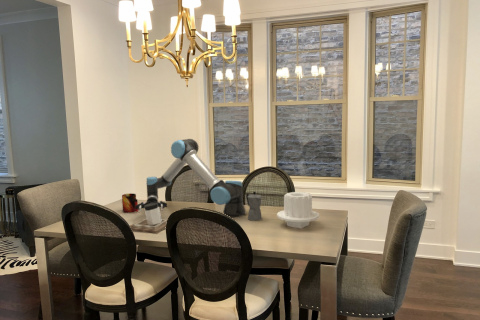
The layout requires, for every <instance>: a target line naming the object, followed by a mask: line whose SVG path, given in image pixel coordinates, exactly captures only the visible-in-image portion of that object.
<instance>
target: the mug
mask: <svg viewBox="0 0 480 320" xmlns="http://www.w3.org/2000/svg"><path fill="white" fill-rule="evenodd" d="M121 203H122V204H121V205H122V213H124V214H131V213H132V214H133V213H135V212H136V213H137V212H139V210H138V209H136V205H138V204H139V202H138V199H137V194H136V193H131V192H130V193H124V194H122V195H121Z"/></svg>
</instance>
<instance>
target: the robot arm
mask: <svg viewBox="0 0 480 320" xmlns="http://www.w3.org/2000/svg"><path fill="white" fill-rule="evenodd" d="M199 147H200V146H199V144H198V142H197V141H196V140H195V139H192V138H186V139H178V140H175V141H173V143H172V144H171V146H170V152H171V155H172V156H173V157H174V158H176V159H175V160H174V161H173V162H172V164H171V165H170V166H169V167H168V168H166V170H165V172H164V173H163V174H162V175H161V177H158V178H157V176H148V177H146V184H145V185H146V197H147V199H146V202H144V201H143V202H139V203H138V205H136V209H138V212H140V213H141V212H142V209H145V208H144V206H145V205H147V204H150V203H158V207H159V208H160V209H161V210H160V211H163V210H164V209H165V208H168V203H167V202H165V201H162V200H160V201H159V189H163V188H166V187H169V186H171V185H172V181H173V180H174V178H175V177H176V176H177V175H178V174H179V173H180V171H181V170H182V169H183V168H184V167H185V166H186V164H187V165H188V167H189V168H190V169H191V170H192V172H194V174H196V175H197V176H198V178H199V179H200V180H201V181H202V182H203V183H204V185H206V186H207V188H208V192H209V194H210V195H209V196H210V199H211V201H212V202H213V203H214V204H216V205H218V206H222V205H224V207H223V212H222V214H223V213H224V214H226V215H228V216H230V217H229V218H240V217H244V216H245V215H246V213H247V212H246V208H245V205H244V199H243V197H244V195H243V182H242V181H240V180H225V181H224V179H219V178H218V177H217V175H215V173H214V172H213V171H212V170H211V169H210V168H209V167H208V165H206V164H205V162H204V161H203V159H201V157H199V156H198V155H197V154H198V151H199Z"/></svg>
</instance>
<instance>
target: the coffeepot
mask: <svg viewBox="0 0 480 320" xmlns="http://www.w3.org/2000/svg"><path fill="white" fill-rule="evenodd" d="M252 193H253V194H252ZM252 193H247V194H246V201H247V206H248V207H249V209H248V215H247V220H248V221H251V222H258V221H261V220H262V219H263V217H262V211H261V204H262V197H263V196H262V195H260V194H256V191H252Z"/></svg>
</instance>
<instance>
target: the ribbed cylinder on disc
mask: <svg viewBox="0 0 480 320" xmlns="http://www.w3.org/2000/svg"><path fill="white" fill-rule="evenodd" d="M312 201H313V196H312V194H310V193H308V192H303V191H302V192H301V191H292V192H287V193H285V194H284V195H283V210H280V211H278V212H277V214H276V216H277V217H276V218H278V219H279V220H282V221H286V226H287V227H291V228H295V229H303V228H305V227H307V226H309V225H310V222H313V221H316V220H318V219H320V213H319V212H318V211H314V210H313V209H312V208H313V206H312V205H313V202H312Z"/></svg>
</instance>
